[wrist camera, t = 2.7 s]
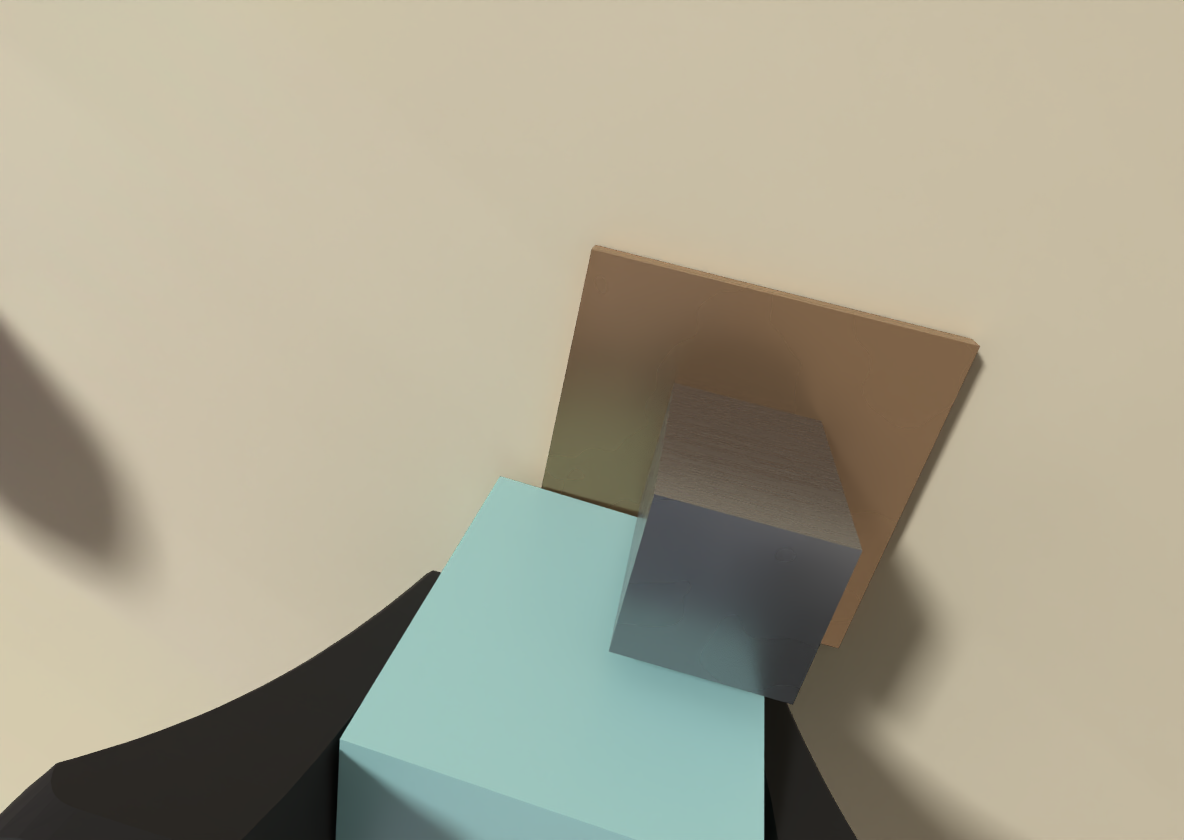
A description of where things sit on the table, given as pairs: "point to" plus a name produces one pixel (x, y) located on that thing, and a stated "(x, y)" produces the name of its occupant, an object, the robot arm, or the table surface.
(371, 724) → the teal cube
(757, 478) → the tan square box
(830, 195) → the table surface
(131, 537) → the table surface
